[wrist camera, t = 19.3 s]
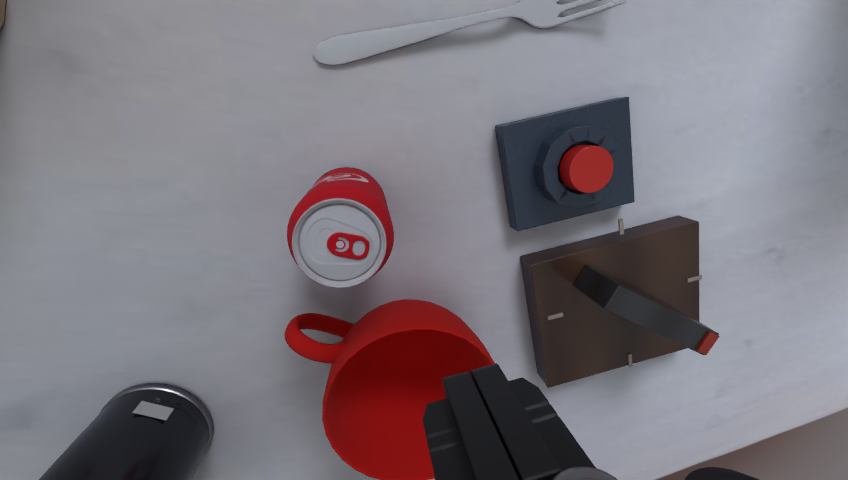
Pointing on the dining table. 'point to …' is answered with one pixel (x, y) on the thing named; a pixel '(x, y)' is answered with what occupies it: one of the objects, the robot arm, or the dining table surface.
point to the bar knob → (645, 310)
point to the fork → (443, 29)
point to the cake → (2, 12)
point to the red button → (586, 168)
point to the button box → (541, 156)
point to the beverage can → (341, 229)
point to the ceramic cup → (387, 381)
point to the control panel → (593, 325)
